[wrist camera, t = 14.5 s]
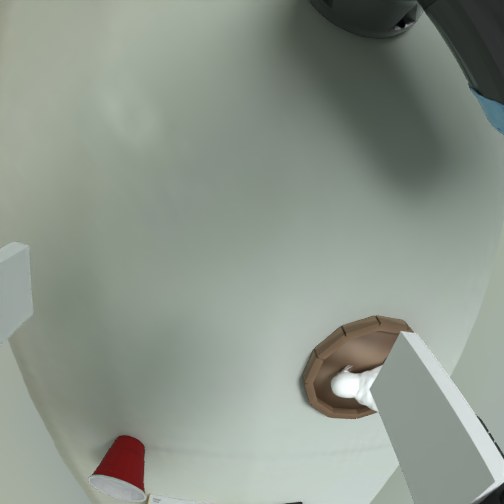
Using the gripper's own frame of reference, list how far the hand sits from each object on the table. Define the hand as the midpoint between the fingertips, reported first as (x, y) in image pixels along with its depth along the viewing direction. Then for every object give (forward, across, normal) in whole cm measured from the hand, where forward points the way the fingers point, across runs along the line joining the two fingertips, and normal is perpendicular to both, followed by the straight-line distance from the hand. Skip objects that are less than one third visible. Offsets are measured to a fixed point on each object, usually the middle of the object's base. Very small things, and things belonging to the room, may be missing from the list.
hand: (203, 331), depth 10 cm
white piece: (+26, +24, -20) cm, 41 cm away
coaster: (+27, +24, -20) cm, 41 cm away
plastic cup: (+27, -10, -50) cm, 58 cm away
